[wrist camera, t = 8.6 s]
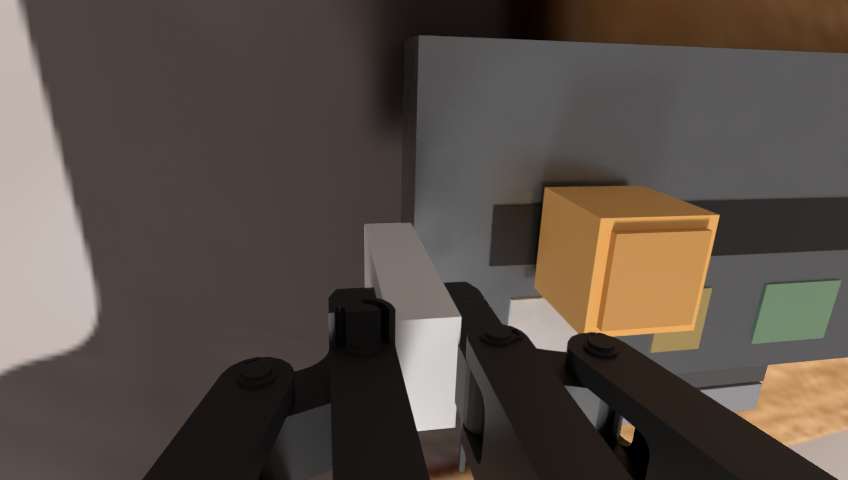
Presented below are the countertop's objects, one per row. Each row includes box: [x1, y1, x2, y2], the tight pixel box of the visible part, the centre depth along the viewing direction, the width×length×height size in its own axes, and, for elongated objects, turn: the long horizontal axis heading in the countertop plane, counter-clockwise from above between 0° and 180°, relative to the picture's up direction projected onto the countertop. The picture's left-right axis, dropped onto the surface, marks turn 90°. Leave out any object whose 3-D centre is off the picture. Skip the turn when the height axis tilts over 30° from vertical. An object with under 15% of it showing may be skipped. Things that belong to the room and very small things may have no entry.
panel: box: [401, 35, 848, 374], centre depth 23 cm, size 24×14×3 cm, turn 88°
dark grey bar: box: [675, 365, 768, 388], centre depth 26 cm, size 14×2×2 cm, turn 88°
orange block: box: [534, 186, 720, 337], centre depth 18 cm, size 4×4×4 cm
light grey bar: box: [622, 381, 762, 425], centre depth 27 cm, size 14×2×2 cm, turn 88°
